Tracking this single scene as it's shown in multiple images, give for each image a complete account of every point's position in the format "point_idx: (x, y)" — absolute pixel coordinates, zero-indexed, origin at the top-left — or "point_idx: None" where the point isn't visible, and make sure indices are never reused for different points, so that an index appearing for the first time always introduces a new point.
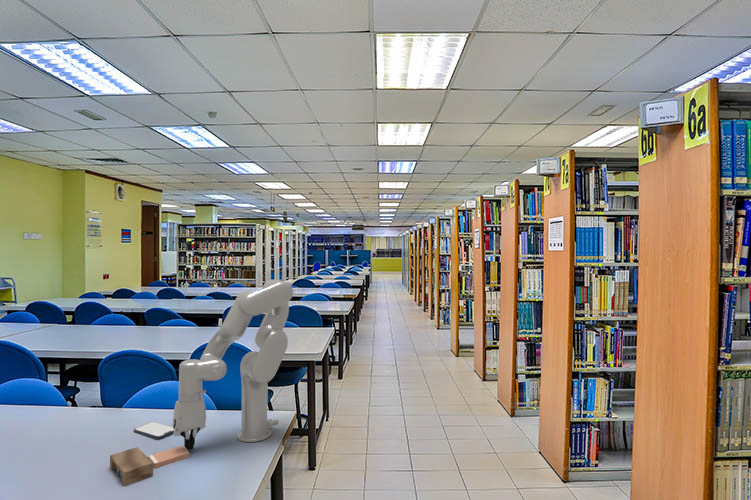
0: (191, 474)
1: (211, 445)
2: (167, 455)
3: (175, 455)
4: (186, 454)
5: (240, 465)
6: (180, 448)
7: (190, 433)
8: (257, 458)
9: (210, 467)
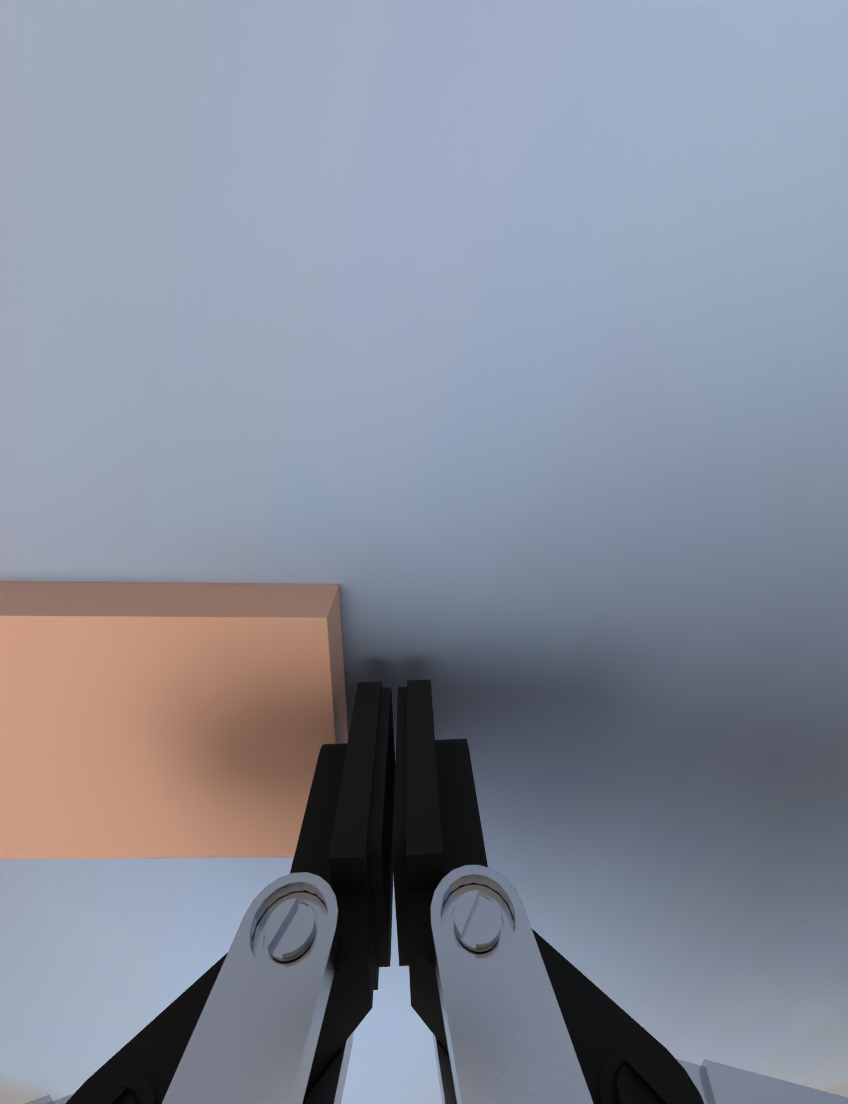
0: None
1: (680, 717)
2: (68, 770)
3: (170, 828)
4: None
5: None
6: (277, 693)
7: (435, 958)
8: None
9: (424, 1023)
